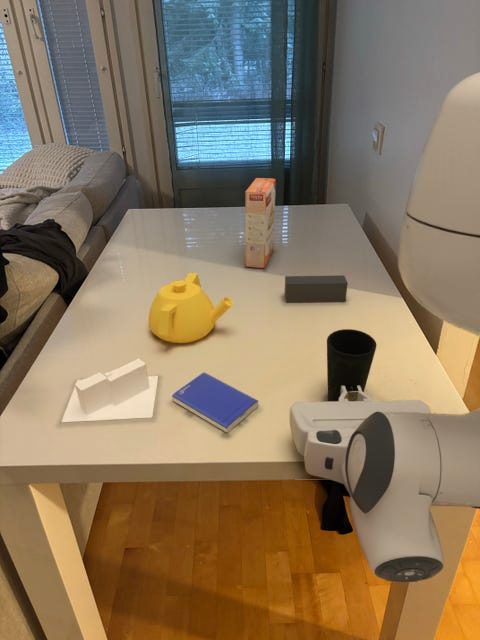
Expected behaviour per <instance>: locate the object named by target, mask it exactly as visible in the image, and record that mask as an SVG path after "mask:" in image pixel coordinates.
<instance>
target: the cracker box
mask: <svg viewBox="0 0 480 640" xmlns="http://www.w3.org/2000/svg"><path fill="white" fill-rule="evenodd" d="M276 183H277V179H276V178H270V177H269V178H267V177H265V178H264V177H255V179H254V180H253V181H252V183H251V184H250V185H249V186H248V188H247V189H246V190H245V197H244V198H245V203H244V205H245V208H244V209H245V214H244V215H245V217H244V219H245V221H244V222H245V223H244V224H245V229H244V230H245V234H244V235H245V238H244V240H245V242H244V244H245V245H244V246H245V247H244V248H245V249H244V250H245V251H244V252H245V253H244V254H245V255H244V256H245V257H244V259H245V260H244V261H245V262H244V263H245V268H252V269H253V268H254V269H266V267H267V265H268V263H269V260H270V258H271V256H272V253H273V251H274V237H275V214H276V213H275V211H276V210H275V209H276V186H277V185H276Z"/></svg>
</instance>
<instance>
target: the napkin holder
mask: <svg viewBox="0 0 480 640" xmlns="http://www.w3.org/2000/svg"><path fill="white" fill-rule="evenodd" d="M147 369H148V368H147V364H146V363H145V362H144V361H143V360H141V359H140V358H137V359H134V360H132V361H129V362H128V363H126V364H124V365H122V366H120V367H117V368H115V369H113V370H111V371H110V370H109V371H108V372H105V373H104V374H103V373H102V372H101V371H99V372H97V373H95V374H93V375H91V376H88V377H87V378H85V379H76V383H74V387H73V390H72V393H71V395H70V398H69V401H68V403H67V406H66V409H65V411H64V414H63V416H62V419H61V421H60V423H74V422H75V423H76V422H92V421H93V422H95V421H112V420H131V419H133V420H134V419H151V418H153V415H154V408H155V402H156V396H157V395H156V393H157V388H158V382H159V375H148V370H147Z"/></svg>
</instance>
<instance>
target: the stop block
mask: <svg viewBox="0 0 480 640" xmlns="http://www.w3.org/2000/svg"><path fill="white" fill-rule="evenodd" d="M348 284H349V283H348V280H347V279H346V276H345V275H294V276H293V275H287V276H286V275H285V276H284V300H285V303H286V304H302V303H303V304H304V303H305V304H306V303H346V300H347V292H348Z"/></svg>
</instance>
